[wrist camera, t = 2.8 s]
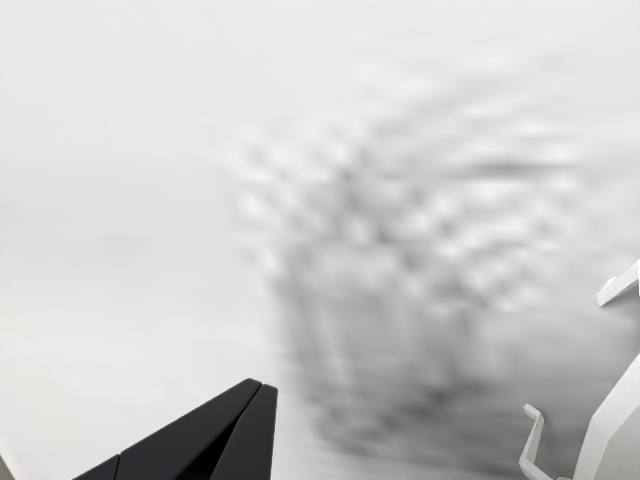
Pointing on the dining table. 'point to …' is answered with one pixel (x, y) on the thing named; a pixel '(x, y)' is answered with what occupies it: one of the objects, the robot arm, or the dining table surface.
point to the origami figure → (603, 417)
